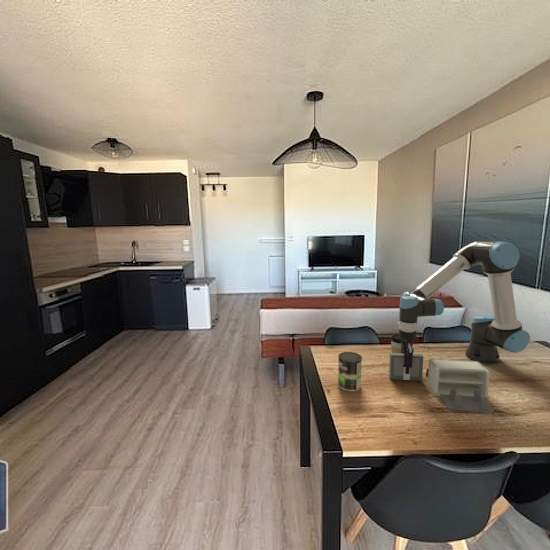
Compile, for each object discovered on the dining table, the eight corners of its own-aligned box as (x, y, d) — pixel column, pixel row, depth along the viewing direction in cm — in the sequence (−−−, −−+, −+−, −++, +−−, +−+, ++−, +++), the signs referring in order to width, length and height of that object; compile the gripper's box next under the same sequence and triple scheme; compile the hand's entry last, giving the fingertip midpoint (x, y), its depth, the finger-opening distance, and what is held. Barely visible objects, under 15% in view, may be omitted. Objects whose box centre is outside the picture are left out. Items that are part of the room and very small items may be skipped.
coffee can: (346, 393, 132) (347, 363, 129) (333, 382, 141) (333, 354, 139) (366, 388, 136) (367, 358, 133) (352, 378, 145) (352, 350, 143)
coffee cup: (412, 368, 153) (414, 339, 151) (393, 368, 153) (394, 340, 151) (405, 359, 163) (406, 332, 160) (386, 359, 163) (387, 333, 161)
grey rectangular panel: (420, 378, 143) (421, 354, 141) (422, 380, 140) (423, 356, 138) (389, 376, 145) (390, 352, 143) (390, 379, 143) (391, 355, 141)
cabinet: (475, 386, 135) (478, 361, 133) (499, 413, 116) (503, 384, 114) (427, 383, 138) (429, 358, 136) (443, 409, 119) (445, 381, 117)
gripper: (395, 323, 147) (393, 369, 151) (403, 335, 132) (400, 385, 136) (411, 324, 146) (409, 370, 150) (421, 336, 130) (418, 386, 134)
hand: (405, 377), depth 143 cm, fingers closed on grey rectangular panel, 3 cm apart
